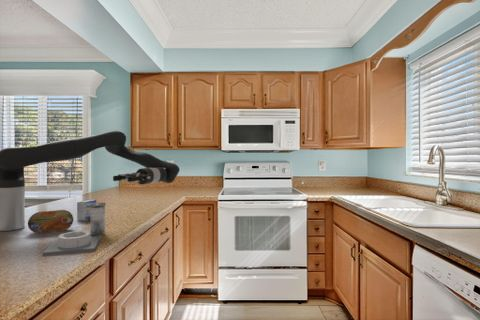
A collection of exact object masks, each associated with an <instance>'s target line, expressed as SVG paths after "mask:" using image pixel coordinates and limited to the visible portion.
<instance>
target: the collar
mask: <svg viewBox="0 0 480 320" xmlns="http://www.w3.org/2000/svg"><path fill="white" fill-rule="evenodd" d="M101 236H102V235H101ZM101 236H91V235H90V231H86V230H77V231H69V232H65V233H60V234H59V235H58V236H57V238H56V239H55V240H54V241H53V242H52V243H51V244H50V245H49V246H48V247H46V249H45V250H44V251H43V252H42V256H44V257H45V256H53V255H54V256H56V255H67V254H78V253H89V252H95V251H96V248H97V247H98V245H99V243H100V241H101Z"/></svg>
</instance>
